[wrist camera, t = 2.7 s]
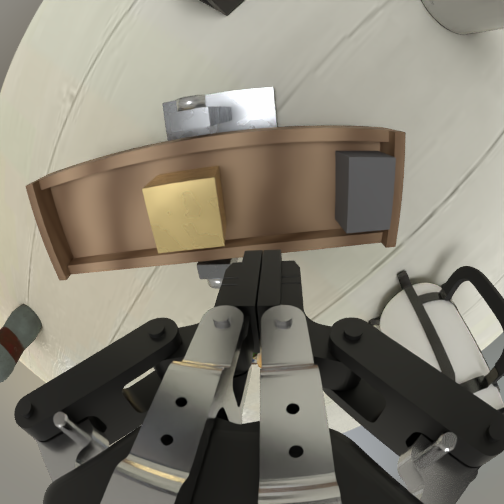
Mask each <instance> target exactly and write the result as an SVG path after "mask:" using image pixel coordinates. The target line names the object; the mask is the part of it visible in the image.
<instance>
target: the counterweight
mask: <svg viewBox="0 0 504 504" xmlns="http://www.w3.org/2000/svg"><path fill="white" fill-rule="evenodd" d="M395 165H396V158H395V157H393V156H390V155H388V154H385V153H382V152H380V151H335V220H336V221H337V222H338V223H339V225H340V226H341V227H342V228H343V230H344V231H345V232H346V233H357V232H367V231H378V230H389V229H390V223H391V215H392V206H393V195H394V182H395Z"/></svg>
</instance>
